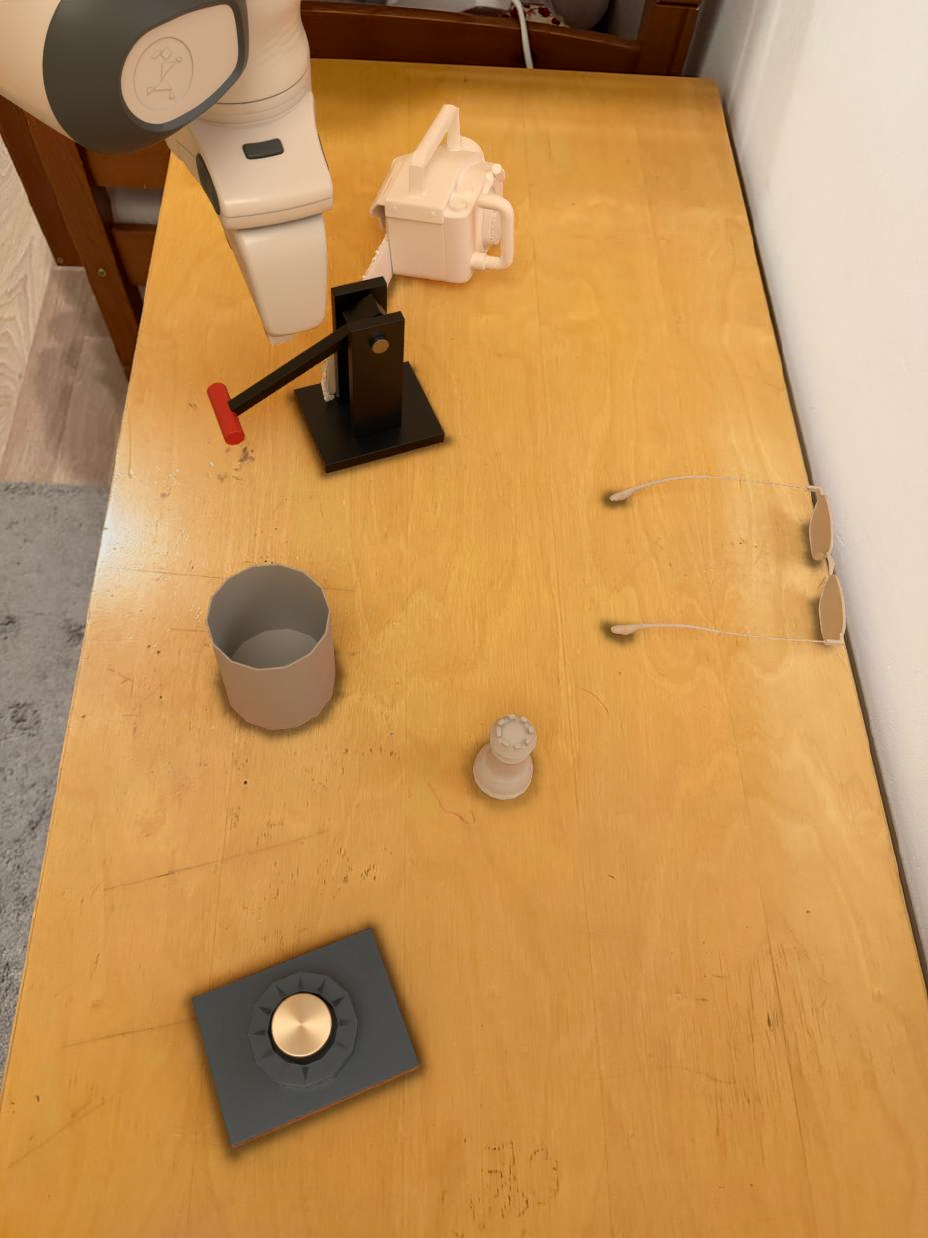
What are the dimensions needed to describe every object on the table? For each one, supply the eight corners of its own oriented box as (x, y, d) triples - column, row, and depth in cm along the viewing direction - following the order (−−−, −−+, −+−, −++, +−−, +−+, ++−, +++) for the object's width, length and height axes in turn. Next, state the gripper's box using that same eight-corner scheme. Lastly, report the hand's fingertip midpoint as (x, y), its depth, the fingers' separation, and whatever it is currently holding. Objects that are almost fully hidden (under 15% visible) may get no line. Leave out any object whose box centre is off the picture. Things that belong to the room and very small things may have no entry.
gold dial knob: (283, 1070, 61) (281, 1067, 59) (266, 1011, 62) (263, 1006, 61) (340, 1046, 62) (339, 1042, 60) (322, 988, 63) (320, 983, 62)
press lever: (235, 450, 83) (218, 437, 81) (216, 401, 85) (199, 387, 83) (401, 343, 80) (387, 326, 78) (377, 295, 82) (363, 278, 80)
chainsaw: (297, 409, 91) (269, 297, 80) (409, 178, 109) (398, 62, 98) (459, 438, 88) (452, 326, 78) (547, 196, 106) (551, 79, 96)
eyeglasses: (830, 664, 82) (850, 641, 78) (609, 644, 81) (620, 619, 78) (810, 509, 89) (827, 482, 86) (608, 489, 89) (617, 461, 85)
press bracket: (326, 474, 87) (318, 360, 75) (294, 398, 91) (281, 278, 79) (444, 441, 90) (454, 327, 78) (408, 369, 94) (413, 249, 82)
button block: (235, 1148, 62) (227, 1146, 58) (196, 1003, 66) (186, 993, 62) (418, 1068, 65) (420, 1062, 61) (370, 934, 69) (370, 921, 65)
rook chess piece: (471, 800, 74) (481, 760, 67) (473, 743, 76) (482, 698, 69) (531, 803, 74) (548, 764, 67) (532, 747, 76) (547, 703, 69)
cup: (206, 709, 76) (184, 647, 67) (250, 619, 80) (235, 549, 71) (312, 743, 75) (304, 685, 66) (351, 650, 79) (348, 584, 70)
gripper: (139, 10, 62) (176, 201, 74) (230, 228, 53) (256, 404, 65) (239, -4, 64) (260, 185, 76) (344, 205, 55) (349, 381, 67)
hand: (259, 288), depth 71 cm, fingers open, 8 cm apart
